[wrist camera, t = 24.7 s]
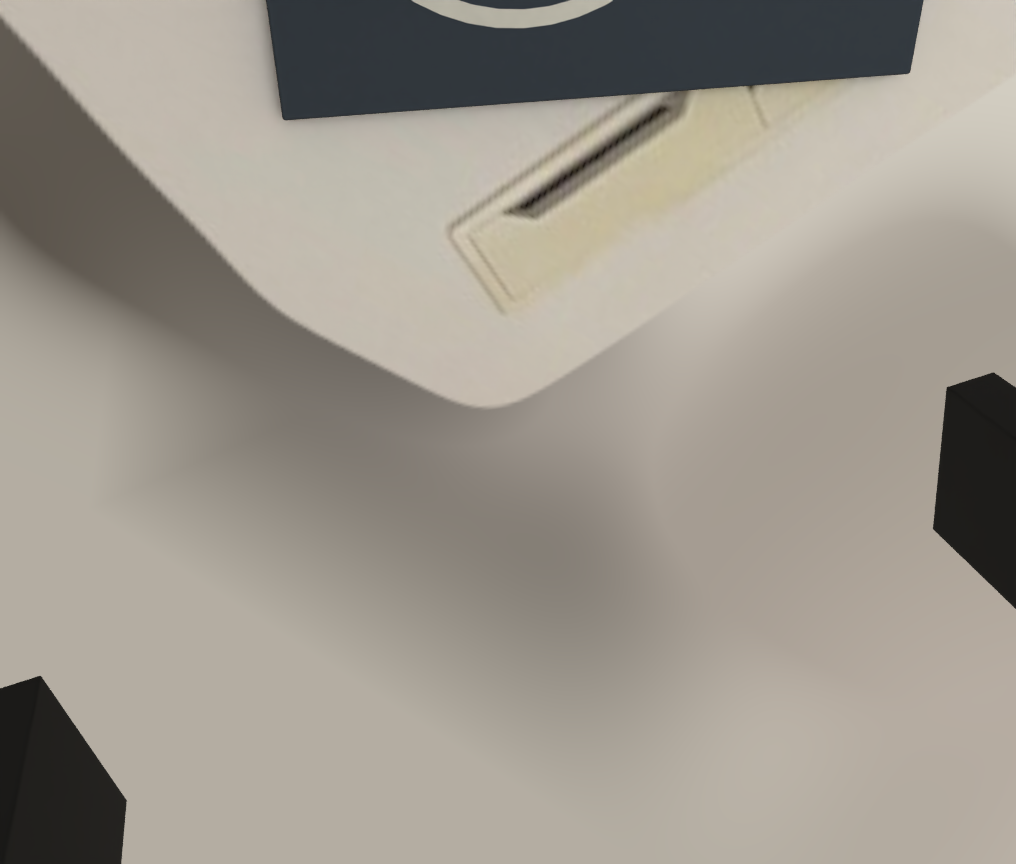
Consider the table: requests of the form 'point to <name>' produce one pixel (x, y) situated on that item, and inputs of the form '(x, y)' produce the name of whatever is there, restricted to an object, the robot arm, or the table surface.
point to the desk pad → (569, 49)
